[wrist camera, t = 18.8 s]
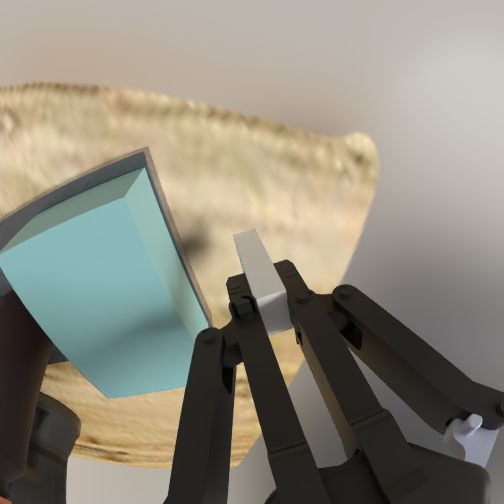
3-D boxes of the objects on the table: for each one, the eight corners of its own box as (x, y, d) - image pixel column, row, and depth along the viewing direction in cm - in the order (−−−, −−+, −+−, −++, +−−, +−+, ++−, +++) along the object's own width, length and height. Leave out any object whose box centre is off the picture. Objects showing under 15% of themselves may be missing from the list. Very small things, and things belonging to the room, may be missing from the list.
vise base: (17, 357, 24) (1, 405, 17) (-52, 257, 16) (-87, 300, 9) (211, 313, 26) (222, 383, 19) (148, 146, 17) (121, 173, 11)
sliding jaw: (110, 347, 23) (102, 399, 18) (30, 218, 15) (-11, 260, 10) (208, 323, 23) (215, 379, 18) (144, 167, 16) (124, 196, 11)
